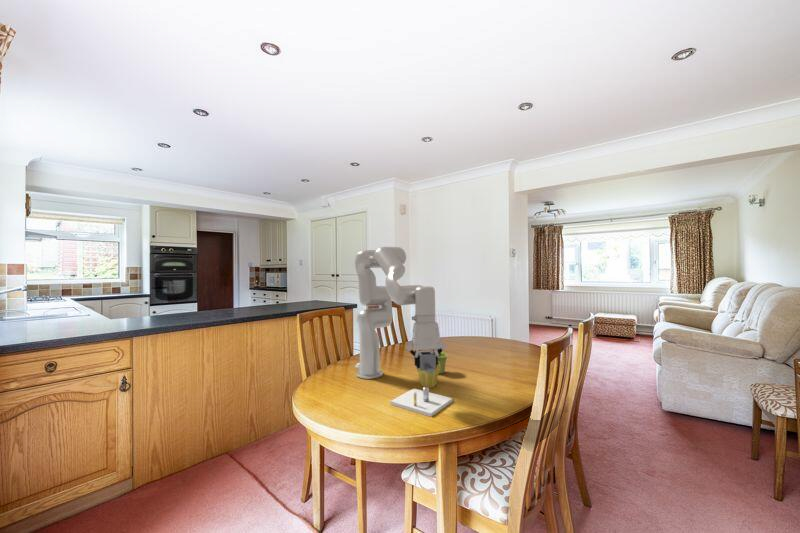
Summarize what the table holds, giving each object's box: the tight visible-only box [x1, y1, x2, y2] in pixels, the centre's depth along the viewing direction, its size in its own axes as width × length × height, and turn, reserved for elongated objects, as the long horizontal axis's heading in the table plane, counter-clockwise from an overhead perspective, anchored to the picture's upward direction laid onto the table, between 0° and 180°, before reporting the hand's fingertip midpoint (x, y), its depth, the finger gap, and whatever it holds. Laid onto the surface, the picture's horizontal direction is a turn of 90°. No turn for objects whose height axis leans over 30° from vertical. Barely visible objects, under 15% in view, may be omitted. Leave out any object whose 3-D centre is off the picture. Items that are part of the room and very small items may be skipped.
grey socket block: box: [418, 350, 436, 374], centre depth 124 cm, size 10×6×6 cm, turn 8°
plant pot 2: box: [438, 352, 449, 375], centre depth 163 cm, size 9×9×9 cm
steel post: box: [422, 386, 430, 402], centre depth 126 cm, size 2×2×5 cm
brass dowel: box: [414, 393, 417, 406], centre depth 122 cm, size 1×1×4 cm
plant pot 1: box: [416, 361, 440, 388], centre depth 146 cm, size 10×10×10 cm
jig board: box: [389, 388, 454, 418], centre depth 127 cm, size 18×16×1 cm
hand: (426, 366), depth 126 cm, fingers closed on grey socket block, 6 cm apart
